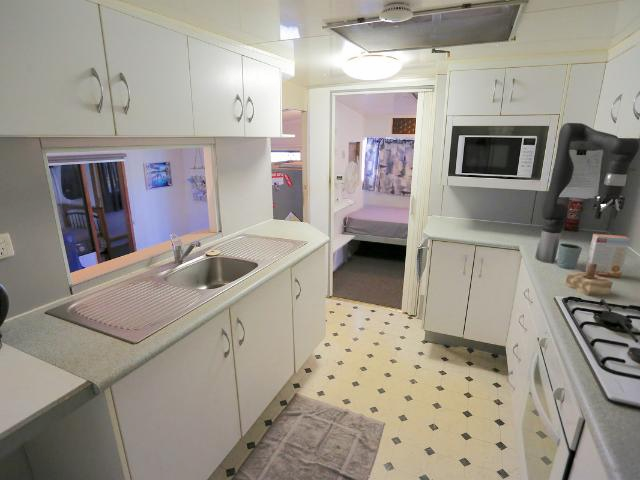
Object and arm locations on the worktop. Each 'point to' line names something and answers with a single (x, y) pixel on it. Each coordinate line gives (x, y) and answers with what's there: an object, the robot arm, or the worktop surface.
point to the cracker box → (608, 254)
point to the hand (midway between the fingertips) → (604, 218)
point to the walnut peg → (591, 271)
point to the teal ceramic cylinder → (568, 256)
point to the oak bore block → (588, 284)
